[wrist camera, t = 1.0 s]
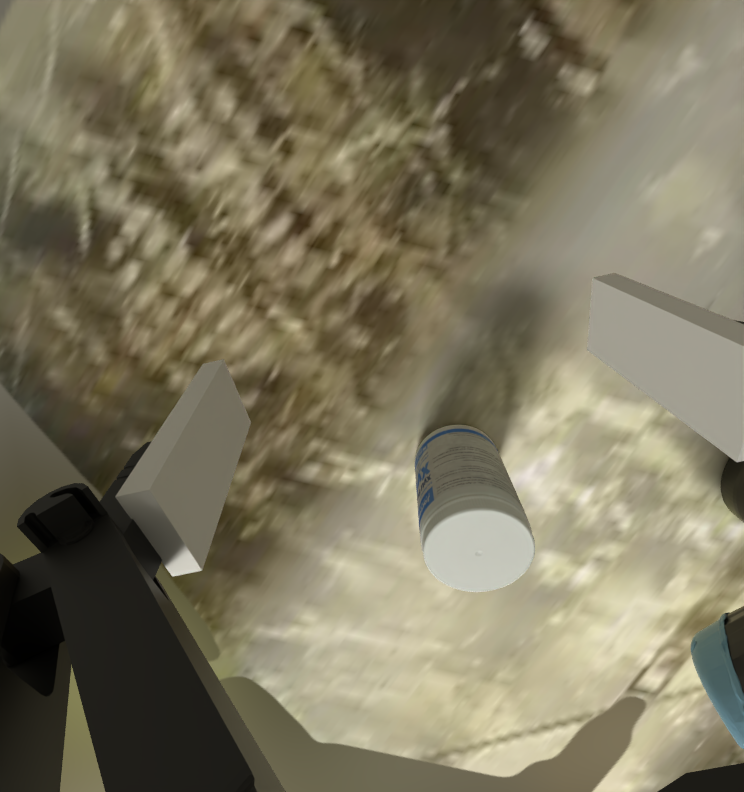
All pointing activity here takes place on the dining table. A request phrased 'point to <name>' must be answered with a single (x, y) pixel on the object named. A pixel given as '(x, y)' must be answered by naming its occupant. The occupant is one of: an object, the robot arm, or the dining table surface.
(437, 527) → the supplement tub
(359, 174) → the dining table surface
